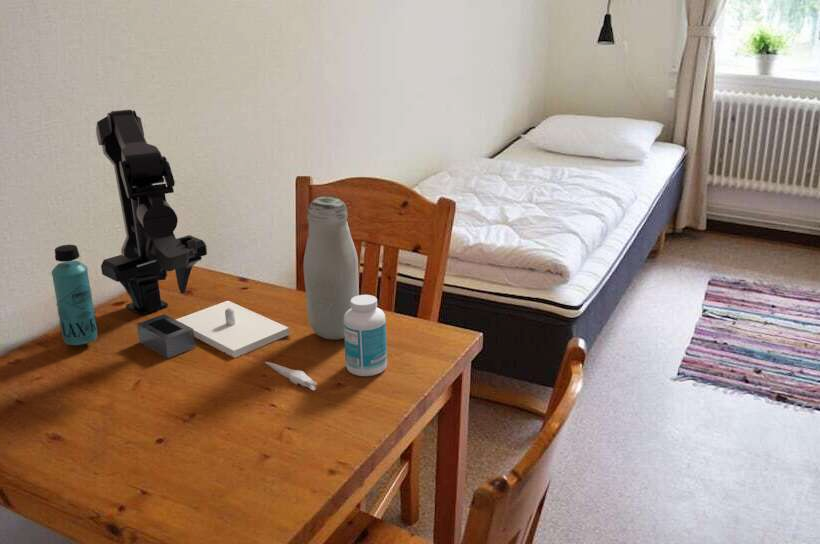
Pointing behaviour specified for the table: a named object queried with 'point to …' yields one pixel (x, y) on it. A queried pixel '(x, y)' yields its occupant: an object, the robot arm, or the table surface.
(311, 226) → the glass bottle
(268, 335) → the keeper board
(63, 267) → the beverage bottle
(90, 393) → the table surface
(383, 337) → the pill bottle
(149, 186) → the robot arm
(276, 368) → the white elongated figurine
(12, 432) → the table surface
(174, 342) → the steel link
